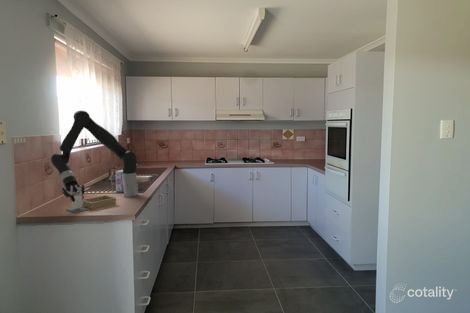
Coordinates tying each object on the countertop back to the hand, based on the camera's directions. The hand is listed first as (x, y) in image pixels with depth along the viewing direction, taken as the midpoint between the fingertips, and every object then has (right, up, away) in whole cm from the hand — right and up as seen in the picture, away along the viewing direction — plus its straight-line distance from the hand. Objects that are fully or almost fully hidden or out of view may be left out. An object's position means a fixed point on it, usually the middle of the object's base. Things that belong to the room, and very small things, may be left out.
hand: (78, 200), depth 207 cm
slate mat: (-1, -6, +2) cm, 7 cm away
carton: (+8, -5, +12) cm, 16 cm away
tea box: (-1, -4, +2) cm, 5 cm away
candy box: (+8, 0, +61) cm, 61 cm away
